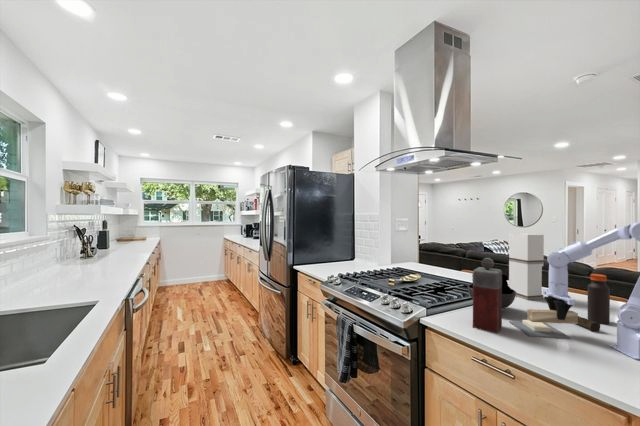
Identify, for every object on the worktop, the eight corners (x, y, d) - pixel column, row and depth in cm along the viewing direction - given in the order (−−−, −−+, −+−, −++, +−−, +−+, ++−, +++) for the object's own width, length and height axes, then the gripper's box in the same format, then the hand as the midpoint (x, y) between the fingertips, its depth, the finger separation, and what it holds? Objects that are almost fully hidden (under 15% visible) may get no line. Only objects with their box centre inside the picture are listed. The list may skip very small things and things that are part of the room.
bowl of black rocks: (521, 310, 136) (521, 270, 136) (508, 320, 122) (509, 276, 122) (476, 300, 151) (476, 265, 151) (460, 308, 137) (461, 269, 137)
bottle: (614, 325, 118) (614, 277, 118) (595, 323, 119) (595, 276, 119) (601, 319, 124) (601, 273, 125) (583, 317, 126) (583, 273, 126)
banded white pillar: (543, 298, 154) (543, 234, 154) (527, 300, 152) (527, 234, 152) (524, 293, 165) (524, 233, 165) (509, 294, 163) (509, 233, 163)
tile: (551, 328, 109) (538, 320, 117) (534, 327, 110) (522, 319, 118) (551, 332, 109) (538, 324, 117) (534, 331, 110) (522, 323, 118)
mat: (570, 338, 105) (570, 337, 105) (529, 336, 106) (529, 334, 106) (545, 324, 118) (545, 322, 118) (509, 322, 120) (509, 320, 120)
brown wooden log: (601, 332, 111) (601, 320, 111) (591, 332, 111) (591, 320, 111) (560, 315, 130) (560, 305, 130) (551, 315, 130) (551, 305, 130)
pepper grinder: (502, 324, 117) (503, 257, 118) (498, 333, 109) (498, 260, 109) (478, 319, 123) (478, 255, 123) (472, 327, 115) (472, 258, 115)
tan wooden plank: (577, 323, 107) (577, 313, 107) (532, 321, 109) (532, 311, 109) (571, 320, 110) (571, 310, 110) (527, 319, 112) (527, 309, 112)
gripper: (535, 278, 117) (534, 310, 117) (560, 287, 103) (560, 324, 103) (553, 278, 116) (553, 311, 116) (581, 287, 102) (581, 325, 102)
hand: (557, 317), depth 110 cm, fingers closed on tan wooden plank, 3 cm apart
